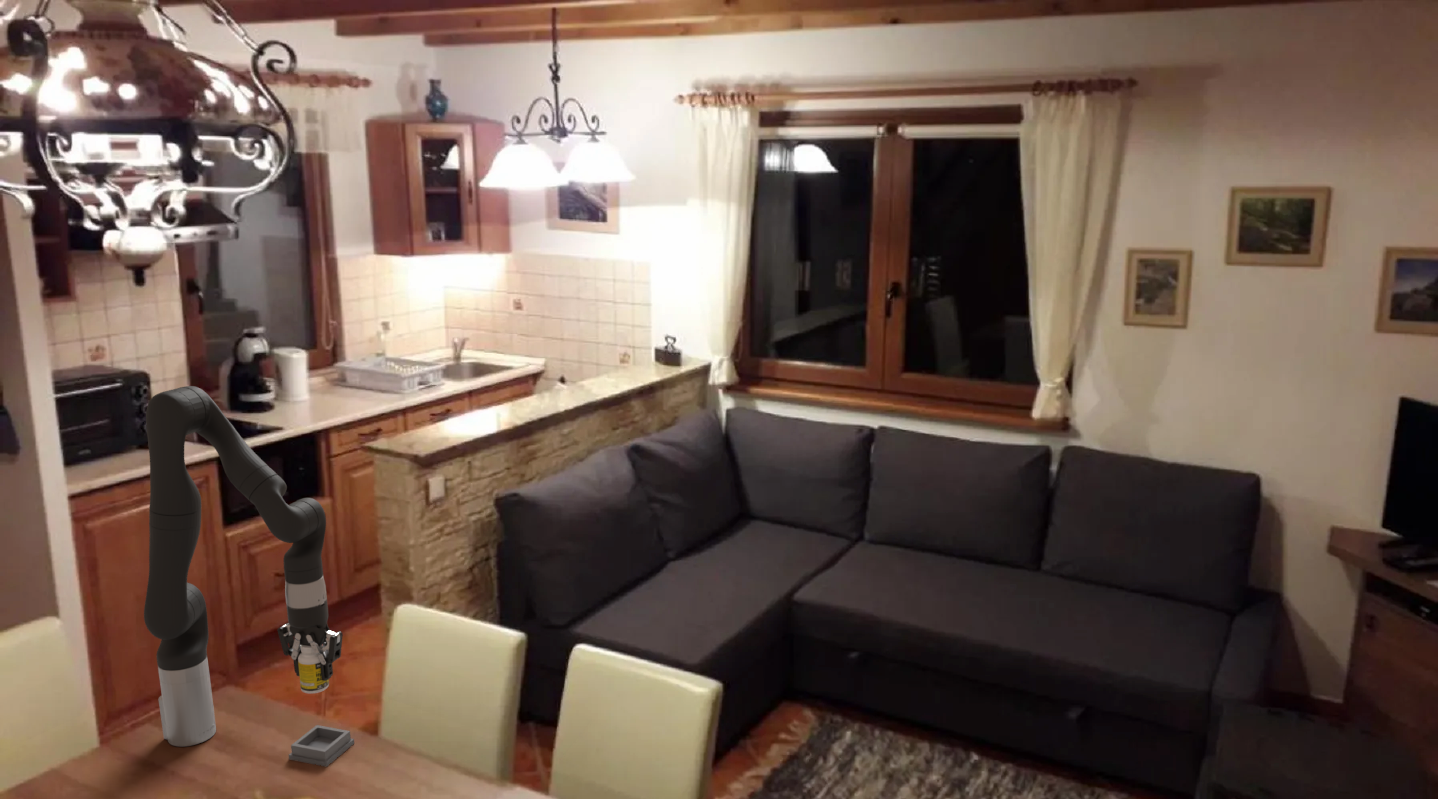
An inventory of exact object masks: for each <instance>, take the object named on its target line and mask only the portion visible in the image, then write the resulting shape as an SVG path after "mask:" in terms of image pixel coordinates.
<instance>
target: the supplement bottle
mask: <svg viewBox="0 0 1438 799" xmlns="http://www.w3.org/2000/svg"><path fill="white" fill-rule="evenodd" d="M322 646H323V644H322V645H321V646H319V648H321V647H322ZM301 652H302V653H301V654H300V655H299V657H298V665H299V676H298V677H299V684H300V685H299V686H300V690H301V692H302V693H305V694H311V695H312V694H319V693H321V692H323V691H325V690H326V689H328V687H329V686H330V678H329V679H328V680H327V681H323V680H322V676H321V666H320V664H322V663H321V662H320V659H319V657H318V655H315V653H314V651H313V649H312V647H311V646H306V645H301ZM324 655H325V657H326V654H325V652H324Z"/></svg>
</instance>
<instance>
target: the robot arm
mask: <svg viewBox="0 0 1438 799" xmlns="http://www.w3.org/2000/svg"><path fill="white" fill-rule="evenodd" d="M210 396H211V395H209V394H208V393H207V392H205V390H203V389H202V388H199V387H198V386H194V385H188V386H180V387H177V388H174V389H173V388H172V389H169V390H166V391H165V390H164V391H162V392H159V393H157V394H155V395H153V396H152V397H151V398H150V400H149V401H148V403H147V406H146V410H145V411H146V412H145V419H146V420H145V421H146V422H145V423H146V434H147V442H148V443H147V444H148V453H149V455H148V456H149V483H150V485H149V486H150V490H149V492H150V494H149V497H150V498H149V508H148V510H149V514H148V518H149V521H148V524H149V525H148V526H149V527H148V528H149V532H148V533H149V540H148V541H149V542H148V543H149V544H148V547H149V548H148V561H149V562H148V563H149V564H148V580H147V587H146V594H145V600H144V610H143V620H144V623H145V626H146V628H147V630H148V631H149V632H150V634H151V635H152V636H154V637H155V638H157V639H159V640H160V644H159V646H158V648H157V651H156V662H157V672H158V677H159V684H160V691H161V695H160V696H159V697H158V705H159V713H160V719H161V721H160V722H161V727H162V735H163V739H164V740H167V742H168V743H169V745H171V746H173V747H181V748H182V747H191V746H194V745H198V744H200V743H201V744H202V743H203V742H206V741H208V740H209V739H211V738H212V737H213V736H214V735H215V734H216V732H217V727H216V726H217V724H216V716H215V708H214V702H213V701H214V700H213V691H212V684H211V676H210V668H209V661H208V653H207V652H208V651H207V648H208V644H209V623H208V620H209V619H208V611H207V610H208V608H207V604H206V599H205V597H204V595H203V593H202V591H201V590H200V589H199V588H198V587H197V586H196V585H194V584H193V583H191V582H188V574H189V569H190V565H191V563H192V559H193V556H194V554H195V551H196V547H197V545H198V544H197V543H198V541H199V537H200V532H201V526H202V497H201V494H200V491H199V488H198V487H197V485H196V483H195V481H194V480H193V478H192V476H191V475H190V473H189V471H188V469H187V466H186V462H185V445H186V444H185V443H186V436H187V435H191V434H193V433H196V434H198V435H199V436H201V437H202V438H204V439H205V440H206V441H208V443H209V444H210V445H212V447H213V448H214V449H215V451H216V452H217V453H216V454H218V457H219V460H220V461H221V464H222V467H223V470H224V473H225V475H226V476H227V478H228V480H229V482H230V483H231V484H232V486H234V487H235V489H237V490H238V491H239V492H240V493H241V494H242V495H243V496H244V497H245V498H246V499H247V500H248V501H249V502H250V503H251V504H252V505H254V506H255V508H256V510H257V512H258V514H259V515H260V517H261V518H262V520H263V522H264V524H265V525H266V527H267V528H268V530H269V532H270V533H271V534H272V535H273V536H274V537H275V538H276V539H278V540H280V541H282V542H283V543H287V544H292V545H291V546H290V547H289V549H288V550H287V551H286V552H285V553H284V555H283V572H284V581H285V582H284V583H285V585H284V587H285V588H284V590H285V591H284V592H285V593H284V594H285V603H286V613H287V622H286V623H284V624H283V625H281V626H280V627H278V628H277V630H276V631H277V633H278V634H277V636H278V638H279V641H280V646H281V649H282V652H283V654H284V656H286V657H287V656H290V658H291V659H292V661H293V667H294V668H293V669H294V673H295V674H296V677H300V676H299V665H298V657H299V655H300V654H301V653H302V652H301V645H306V646H311V647H312V649H313V651H314V653H315V655H318V657H319V659H320V662H321V663H322V664H320V666H321V676H322V680H323V681H327V680H328V679H329V680H330V679H331V678H332V676H333V674H334V669H333V663H334V662H335V661H336V660H338V659H340V658H341V657H342V656H341V655H342V647H343V646H342V645H343V632H342V631H340V630H339V631H337V632H335V631H332V630H330V629H331V628H330V627H329V626H328V619H329V607H328V606H329V605H328V597H327V585H326V581H325V578H324V570H323V569H324V568H323V561H322V560H323V558H322V554H323V552H322V551H323V548H324V543H325V538H326V537H325V536H326V528H327V517H326V513H325V509H324V508H323V506H322V504H321V503H320V502H319V501H318V500H316V499H314V498H312V497H303V498H300V499H297V500H296V501H294V502H292V503H290V504H288V503H286V500H285V499H284V498H283V496H285V494H286V492H287V489H288V486H287V484H286V482H285V480H284V479H283V478H282V477H281V476H280V475H278V473H276V471H275V470H273V469H272V468H271V467H270V466H269V465H268V464H267V463H266V462H265V461H264V460H263V459H261V457H260V456H259V455H258V454H256V452H254V450H253V449H252V448H251V447H250V446H249V445H248V443H247V442H246V441H245V440H244V438H243V437H242V436H241V435H240V433H239V432H238V431H237V429H236V428H235V426H234V425H233V424H232V423H231V421H229V419H228V418H227V417H226V415H225V414H224V413H223V411H222V410H221V408H220V407H219V406H218V405H217V403H216V402H215V401H214V399H212V397H210ZM321 645H322V647H321V648H319V646H321ZM324 652H325V654H326V657H325V655H324Z"/></svg>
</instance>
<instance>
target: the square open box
mask: <svg viewBox="0 0 1438 799" xmlns="http://www.w3.org/2000/svg"><path fill="white" fill-rule="evenodd" d="M353 745H355V738H352V737H351V731H350V730H346V729H340V728H335V727H331V726H323V725H319V724H316V725H314V727H312V728H311V729H310V730H308V731H307V732H306V733H305V734H303V735H302V736H301V737H299V739H297V740H296V741H294V742H293V743H292V744H291V745H290V750H291V752H290V753H289V754H288V760H291V761H294V762H295V761H296V762H301V763H305V764H310V765H315V764H316V765H315V766H320V765H321V767H325V768H326V767H327V768H328V767H329V764H330V763H331V764H333V762H335V760H337V759H338V758H339V757H340V756H341V755H343V754H344V753H345V752H346V751H347V750H348V749H349V748H351V747H352V746H353ZM337 757H338V758H337ZM331 764H330V765H331Z"/></svg>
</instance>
